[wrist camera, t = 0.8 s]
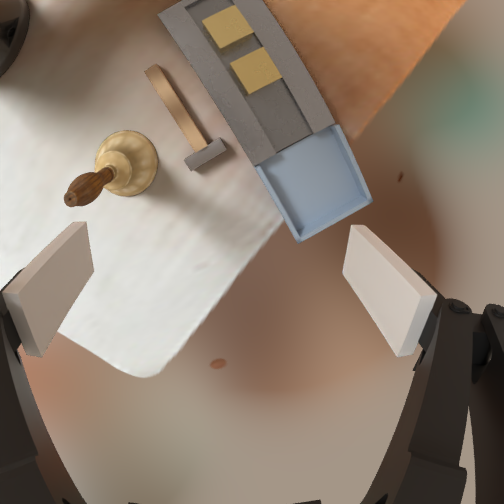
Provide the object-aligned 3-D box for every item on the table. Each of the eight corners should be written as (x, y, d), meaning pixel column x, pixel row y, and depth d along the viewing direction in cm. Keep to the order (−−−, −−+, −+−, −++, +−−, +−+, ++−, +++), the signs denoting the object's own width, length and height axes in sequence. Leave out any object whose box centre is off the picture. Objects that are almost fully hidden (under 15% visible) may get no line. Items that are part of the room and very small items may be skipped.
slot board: (160, 18, 28) (157, 14, 26) (240, -22, 26) (241, -28, 25) (252, 164, 37) (253, 166, 35) (330, 122, 35) (335, 122, 34)
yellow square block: (203, 28, 28) (201, 20, 26) (234, 12, 28) (235, 4, 25) (220, 53, 30) (220, 48, 27) (251, 38, 29) (253, 31, 27)
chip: (229, 67, 31) (229, 63, 28) (260, 51, 30) (263, 46, 28) (247, 95, 32) (249, 94, 30) (277, 80, 32) (282, 77, 29)
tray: (253, 165, 37) (255, 169, 34) (331, 123, 35) (339, 124, 33) (293, 235, 41) (297, 243, 39) (364, 195, 40) (373, 201, 37)
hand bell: (169, 147, 35) (132, 169, 21) (141, 206, 38) (97, 263, 23) (111, 120, 33) (44, 128, 18) (87, 180, 35) (19, 221, 21)
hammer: (136, 80, 31) (132, 79, 30) (170, 58, 31) (167, 56, 29) (192, 169, 37) (191, 171, 35) (226, 148, 36) (226, 150, 34)
